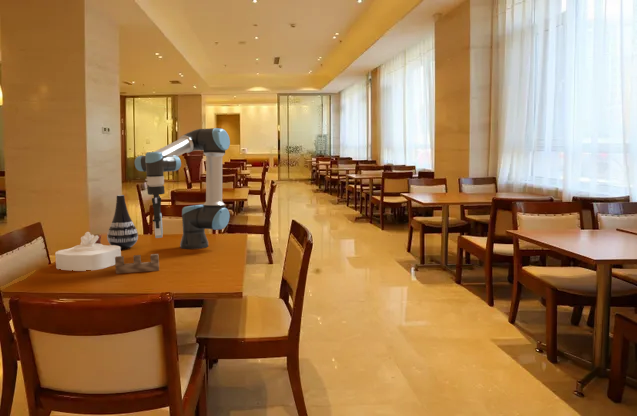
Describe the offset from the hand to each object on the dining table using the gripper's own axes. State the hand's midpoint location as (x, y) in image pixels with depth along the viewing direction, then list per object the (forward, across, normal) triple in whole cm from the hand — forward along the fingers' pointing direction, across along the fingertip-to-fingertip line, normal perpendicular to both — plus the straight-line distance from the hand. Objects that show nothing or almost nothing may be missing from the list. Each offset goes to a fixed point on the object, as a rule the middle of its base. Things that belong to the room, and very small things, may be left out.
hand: (158, 233), depth 245 cm
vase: (+16, -52, -21) cm, 58 cm away
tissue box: (+15, -12, -33) cm, 38 cm away
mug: (+15, -37, -35) cm, 53 cm away
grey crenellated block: (+15, +10, -9) cm, 20 cm away
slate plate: (+1, 0, 0) cm, 1 cm away
